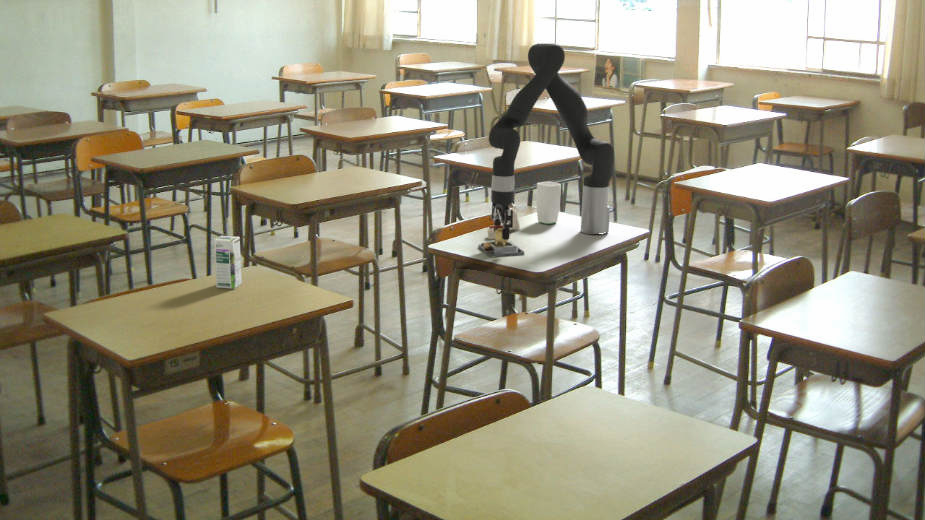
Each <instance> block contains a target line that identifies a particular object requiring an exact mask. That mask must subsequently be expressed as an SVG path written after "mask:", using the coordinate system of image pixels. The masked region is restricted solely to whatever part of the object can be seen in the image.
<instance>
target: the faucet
mask: <svg viewBox="0 0 925 520" xmlns="http://www.w3.org/2000/svg"><path fill="white" fill-rule="evenodd" d="M509 209H510V210H513V227H512V228H510V231H518V230H520V228H521V227H520V223H519V222H520V221H519V218H518V212H517V211H516V209H514V208H512V207H509ZM487 238H488V239H490V240H491V239H492V240H495V233H494V228H492V229H490V228H489V227H488V230H487Z"/></svg>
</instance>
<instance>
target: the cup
mask: <svg viewBox="0 0 925 520" xmlns="http://www.w3.org/2000/svg"><path fill="white" fill-rule="evenodd" d="M561 191H562V184H561V183H558V182H554V181H548V180H547V181H542V182H537V183H536V214H537V221H538V222H539V223H541V224H543V225H551V224H556V223H557V222H558V218H559V212H560V205H561V193H562V192H561Z"/></svg>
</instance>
